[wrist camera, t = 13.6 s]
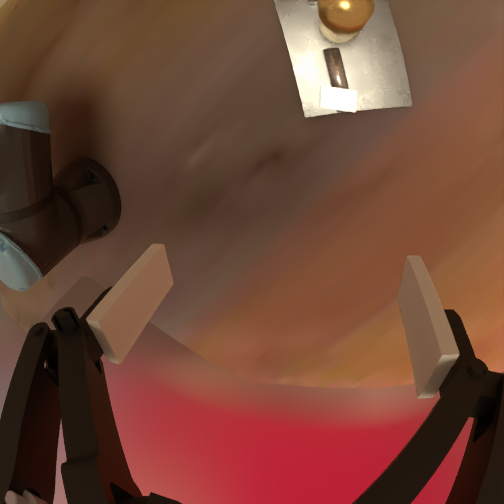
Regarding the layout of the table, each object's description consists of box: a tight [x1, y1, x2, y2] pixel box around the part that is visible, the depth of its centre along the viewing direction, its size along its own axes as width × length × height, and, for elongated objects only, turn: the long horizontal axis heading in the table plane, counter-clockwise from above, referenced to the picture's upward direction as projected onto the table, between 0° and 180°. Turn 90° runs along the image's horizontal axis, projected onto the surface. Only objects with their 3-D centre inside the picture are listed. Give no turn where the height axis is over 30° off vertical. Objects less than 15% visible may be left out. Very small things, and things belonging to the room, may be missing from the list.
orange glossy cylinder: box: [318, 0, 375, 43], centre depth 22 cm, size 5×5×11 cm
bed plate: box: [274, 0, 412, 118], centre depth 26 cm, size 23×14×5 cm, turn 14°
